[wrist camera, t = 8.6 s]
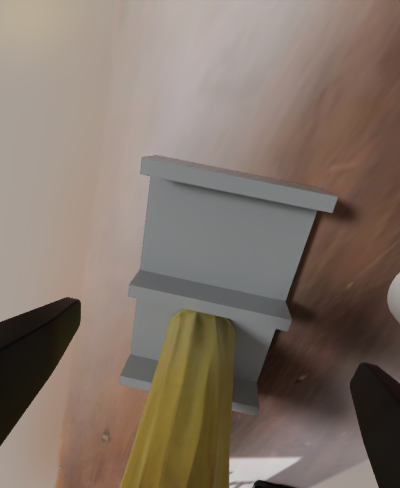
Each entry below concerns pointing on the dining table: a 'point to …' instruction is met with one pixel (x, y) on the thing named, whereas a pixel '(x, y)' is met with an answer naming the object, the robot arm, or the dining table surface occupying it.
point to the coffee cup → (394, 298)
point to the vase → (187, 408)
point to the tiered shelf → (218, 261)
